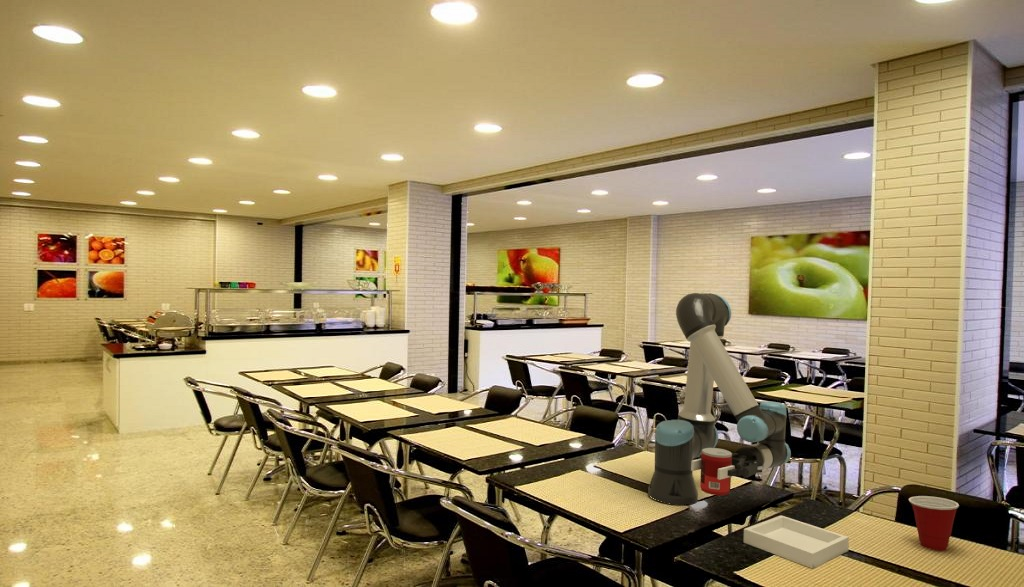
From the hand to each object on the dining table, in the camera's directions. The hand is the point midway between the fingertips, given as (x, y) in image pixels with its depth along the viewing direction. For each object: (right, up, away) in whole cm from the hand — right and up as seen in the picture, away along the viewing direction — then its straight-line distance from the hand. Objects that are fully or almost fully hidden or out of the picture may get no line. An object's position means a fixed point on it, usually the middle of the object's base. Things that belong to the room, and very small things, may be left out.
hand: (705, 469), depth 166 cm
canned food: (+4, -7, +3) cm, 8 cm away
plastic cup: (+57, -18, -7) cm, 60 cm away
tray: (+20, -17, -9) cm, 28 cm away
